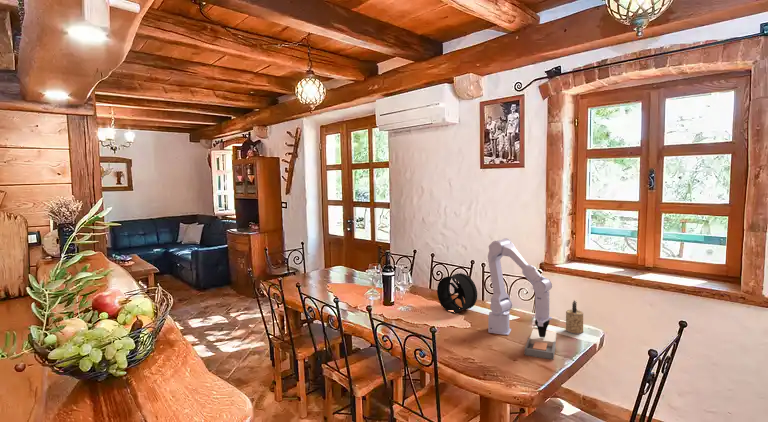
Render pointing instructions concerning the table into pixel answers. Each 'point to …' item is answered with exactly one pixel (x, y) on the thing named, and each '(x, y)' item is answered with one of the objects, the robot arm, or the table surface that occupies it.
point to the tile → (540, 346)
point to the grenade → (574, 320)
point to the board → (548, 339)
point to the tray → (539, 351)
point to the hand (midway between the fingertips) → (542, 336)
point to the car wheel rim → (464, 291)
